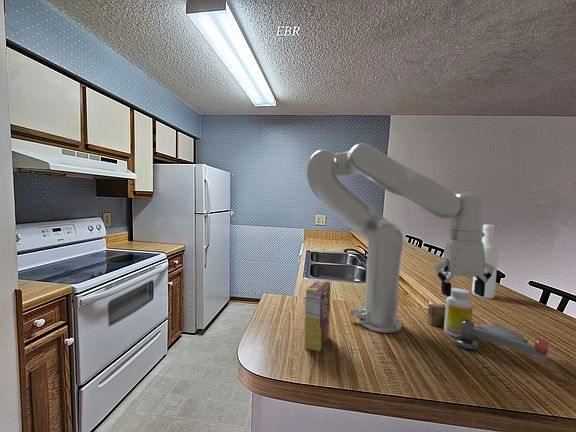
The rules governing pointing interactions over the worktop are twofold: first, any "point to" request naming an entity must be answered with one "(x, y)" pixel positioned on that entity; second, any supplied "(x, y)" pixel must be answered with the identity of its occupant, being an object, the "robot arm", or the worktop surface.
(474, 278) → the bottle
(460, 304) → the supplement bottle
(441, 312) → the wooden plank block
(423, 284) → the worktop surface
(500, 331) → the coaster
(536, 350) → the lever
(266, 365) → the worktop surface
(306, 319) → the candy box
